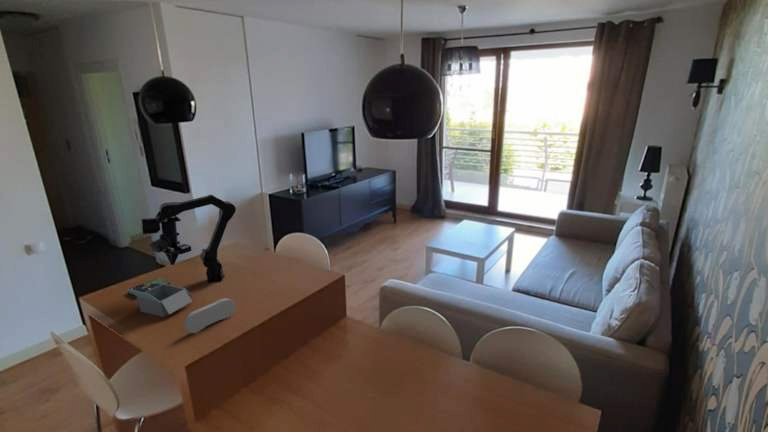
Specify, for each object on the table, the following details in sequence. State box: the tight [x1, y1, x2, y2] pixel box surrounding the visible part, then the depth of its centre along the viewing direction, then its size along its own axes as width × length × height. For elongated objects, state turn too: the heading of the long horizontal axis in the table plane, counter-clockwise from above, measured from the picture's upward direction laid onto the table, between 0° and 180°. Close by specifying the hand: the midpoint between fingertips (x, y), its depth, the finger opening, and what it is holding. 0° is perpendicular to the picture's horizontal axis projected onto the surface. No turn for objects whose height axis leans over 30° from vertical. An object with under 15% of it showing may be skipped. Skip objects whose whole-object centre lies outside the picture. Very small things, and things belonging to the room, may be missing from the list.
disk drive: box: [127, 277, 171, 301], centre depth 181 cm, size 10×3×15 cm
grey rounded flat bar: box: [183, 297, 236, 334], centre depth 149 cm, size 20×2×8 cm, turn 141°
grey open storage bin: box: [135, 284, 194, 319], centre depth 165 cm, size 15×20×7 cm
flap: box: [126, 288, 159, 302], centre depth 155 cm, size 6×13×1 cm
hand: (172, 264), depth 176 cm, fingers closed
